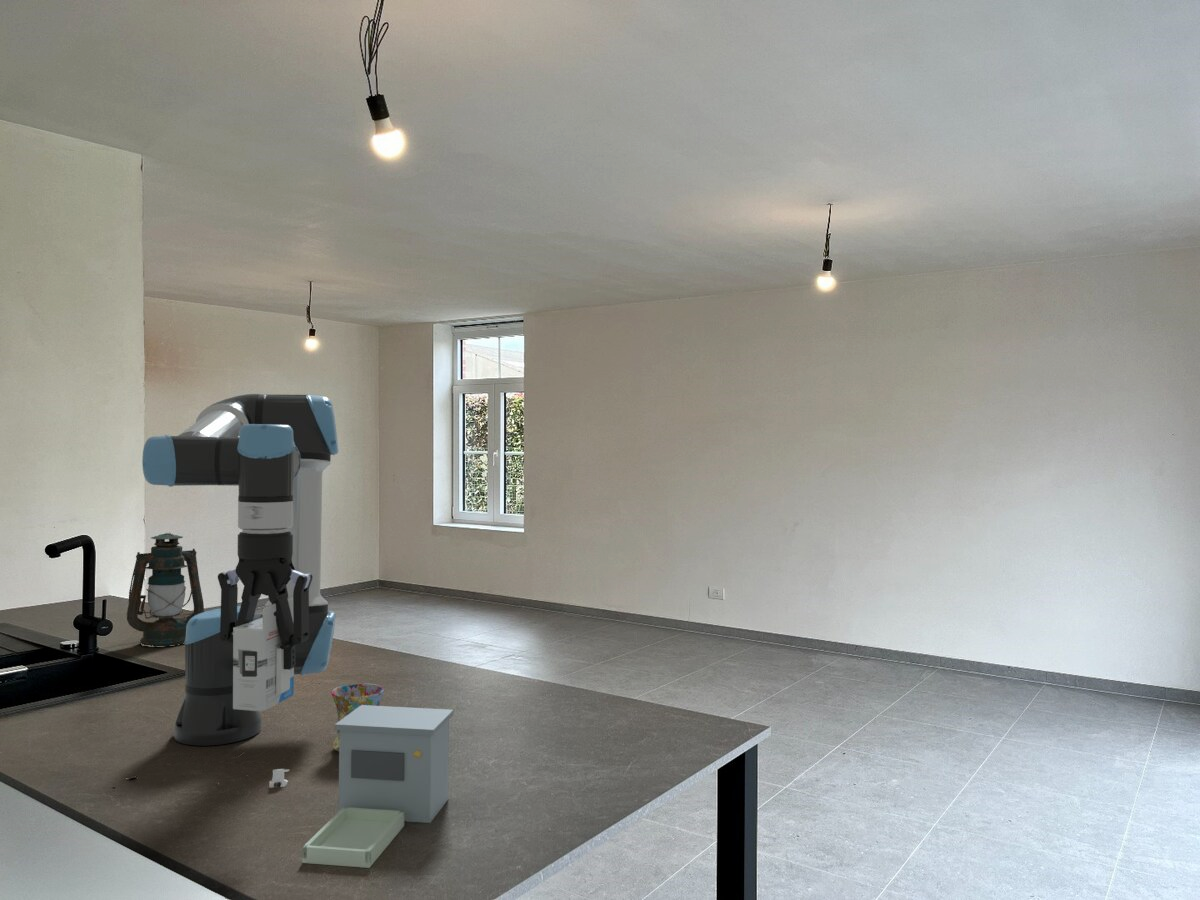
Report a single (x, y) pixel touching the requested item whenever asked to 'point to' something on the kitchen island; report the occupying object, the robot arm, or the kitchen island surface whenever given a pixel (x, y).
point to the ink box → (258, 663)
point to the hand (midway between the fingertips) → (264, 689)
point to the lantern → (164, 592)
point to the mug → (354, 700)
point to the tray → (353, 837)
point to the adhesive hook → (278, 778)
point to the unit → (395, 760)
